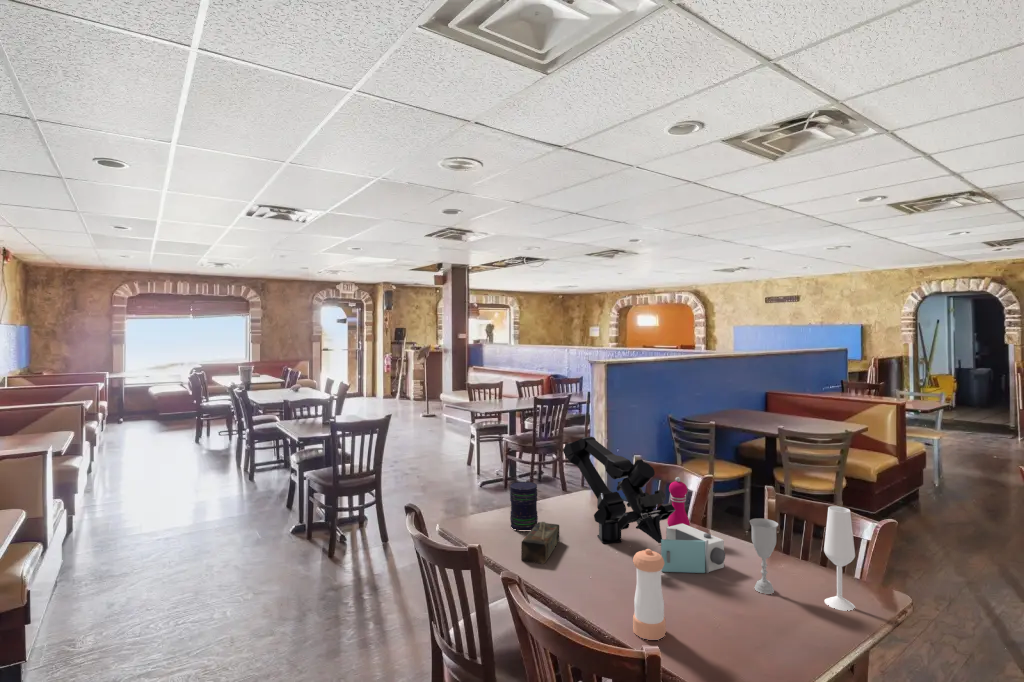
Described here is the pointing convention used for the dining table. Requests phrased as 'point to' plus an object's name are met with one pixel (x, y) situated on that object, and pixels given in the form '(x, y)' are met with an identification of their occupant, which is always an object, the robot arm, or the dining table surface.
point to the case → (712, 543)
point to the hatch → (683, 555)
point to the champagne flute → (839, 550)
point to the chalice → (764, 548)
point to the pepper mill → (678, 503)
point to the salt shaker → (649, 596)
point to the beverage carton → (540, 542)
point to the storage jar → (523, 505)
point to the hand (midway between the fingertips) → (660, 542)
